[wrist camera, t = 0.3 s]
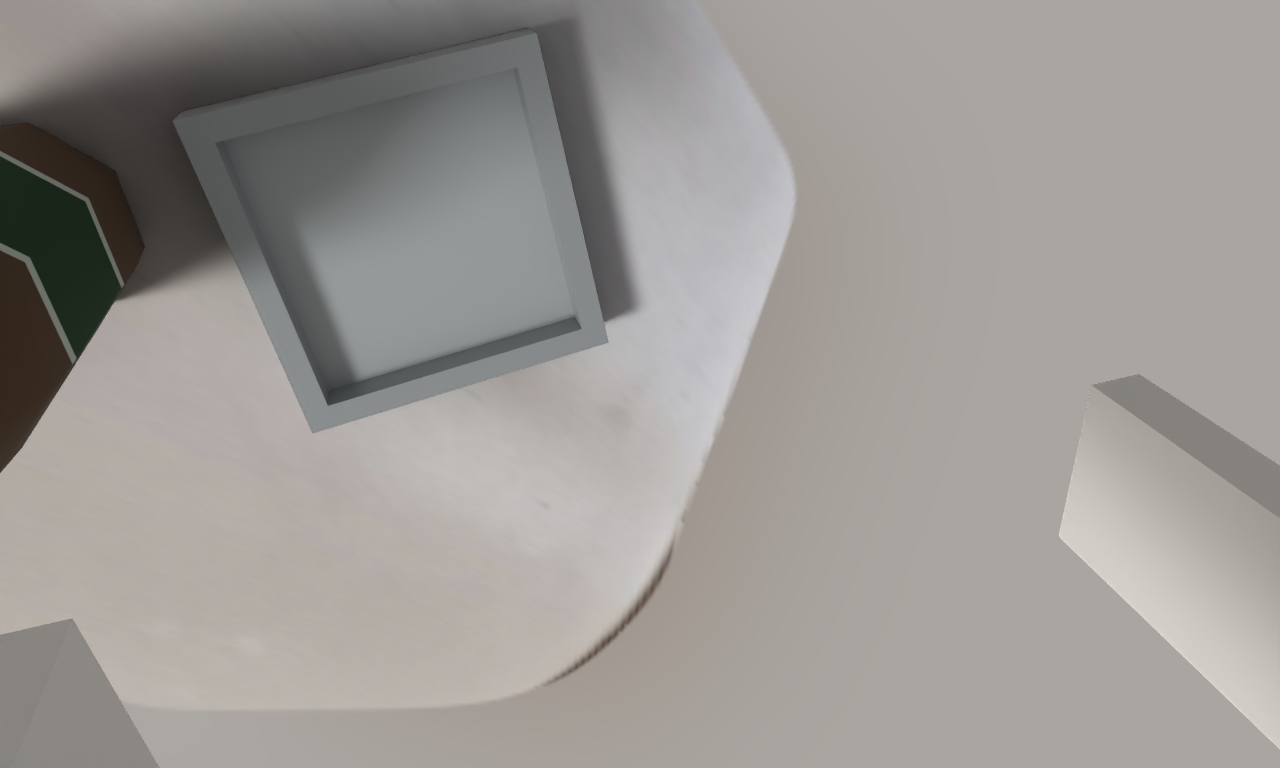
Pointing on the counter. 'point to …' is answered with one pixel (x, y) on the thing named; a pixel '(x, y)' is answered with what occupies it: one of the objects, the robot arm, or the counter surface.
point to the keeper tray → (403, 224)
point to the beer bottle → (53, 268)
